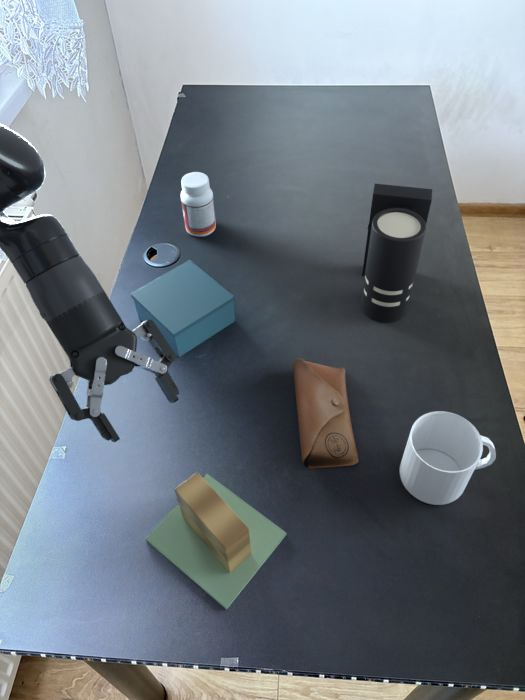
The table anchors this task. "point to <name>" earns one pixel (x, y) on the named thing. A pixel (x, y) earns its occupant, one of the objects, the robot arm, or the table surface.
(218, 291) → the toy box
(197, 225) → the pill bottle
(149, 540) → the mat
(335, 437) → the sunglasses case
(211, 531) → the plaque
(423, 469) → the mug
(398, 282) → the light fixture
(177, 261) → the table surface
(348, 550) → the table surface
